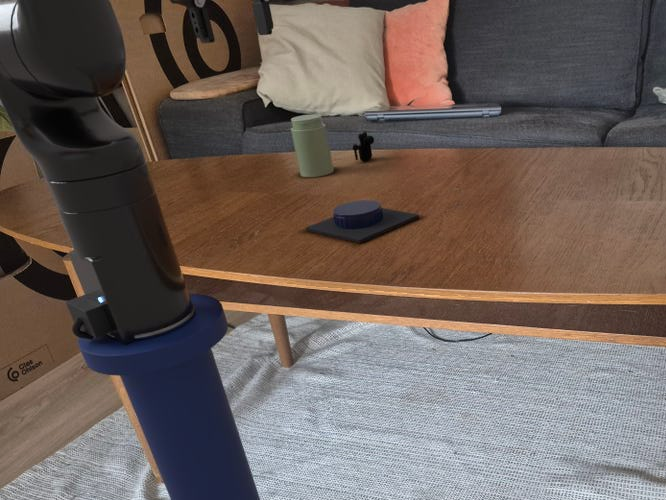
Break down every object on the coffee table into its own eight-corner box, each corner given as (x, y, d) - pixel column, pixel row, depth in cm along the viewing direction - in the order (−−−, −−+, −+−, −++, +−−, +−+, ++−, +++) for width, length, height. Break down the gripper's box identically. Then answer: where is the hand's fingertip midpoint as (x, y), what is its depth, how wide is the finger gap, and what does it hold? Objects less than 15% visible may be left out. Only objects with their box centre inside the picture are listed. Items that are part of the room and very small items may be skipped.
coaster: (360, 243, 85) (359, 239, 85) (306, 231, 92) (305, 227, 91) (419, 218, 92) (418, 214, 92) (365, 208, 99) (364, 204, 98)
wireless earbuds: (371, 155, 129) (367, 128, 126) (383, 155, 128) (379, 128, 125) (353, 165, 123) (348, 137, 121) (365, 165, 122) (360, 136, 120)
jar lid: (371, 210, 96) (369, 197, 95) (391, 220, 91) (388, 207, 90) (328, 221, 93) (325, 207, 92) (346, 232, 88) (343, 218, 87)
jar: (316, 178, 117) (305, 121, 112) (293, 176, 120) (281, 120, 115) (341, 169, 121) (330, 114, 116) (317, 167, 124) (306, 113, 119)
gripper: (236, -110, 84) (266, 33, 92) (126, -114, 75) (170, 46, 83) (271, -119, 80) (300, 31, 88) (160, -125, 70) (203, 44, 78)
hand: (237, 38), depth 85 cm, fingers open, 8 cm apart
